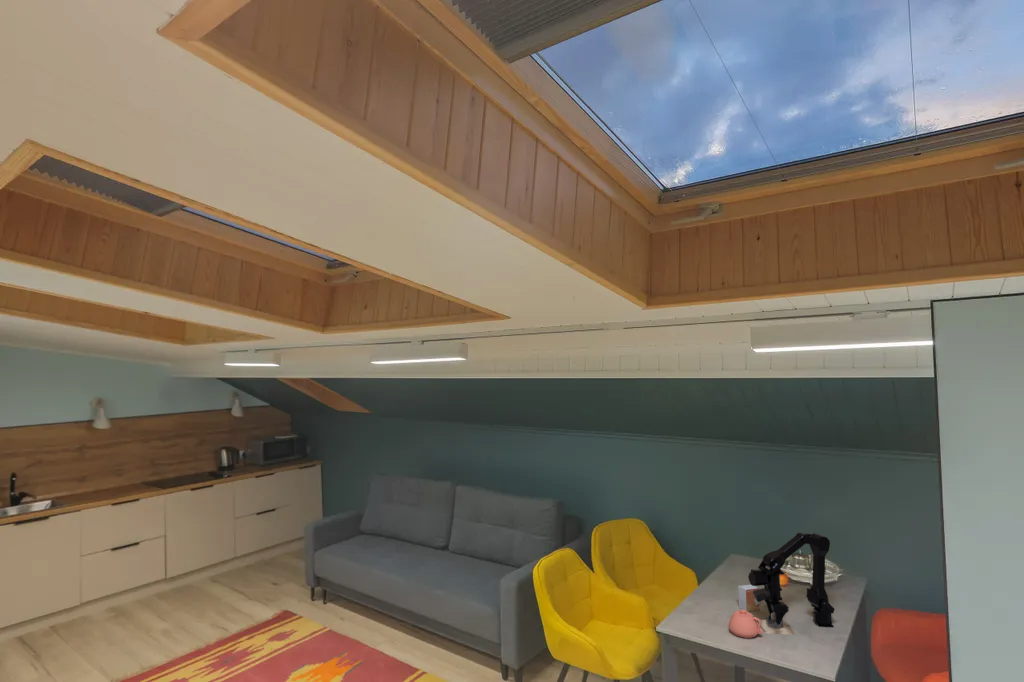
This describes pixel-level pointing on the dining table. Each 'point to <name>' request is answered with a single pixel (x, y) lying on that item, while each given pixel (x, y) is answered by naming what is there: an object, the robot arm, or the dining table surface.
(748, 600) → the small box
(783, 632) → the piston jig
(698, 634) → the dining table surface
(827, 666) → the dining table surface
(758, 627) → the sugar bowl
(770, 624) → the ring
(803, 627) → the dining table surface
